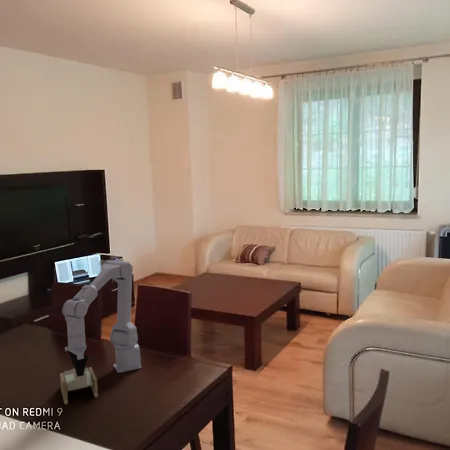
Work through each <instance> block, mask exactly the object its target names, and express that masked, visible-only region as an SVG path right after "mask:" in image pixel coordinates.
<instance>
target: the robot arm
mask: <svg viewBox="0 0 450 450" xmlns="http://www.w3.org/2000/svg"><path fill="white" fill-rule="evenodd" d="M112 279H113V280H114V281H115V282H116V283H117V305H116V307H117V308H116V323H114V324H113V325H112V326H111V333H110V336H109V340H110V343H111V344H113V347H114V349H115V363H114V364H113V367H114V368H115V371H116V372H117V373H119V374H120V373H124V372H128V371H134V370H138V369H142V364H141V363H142V362H141V361H142V360H141V349H140V345H139V343H138V340H139V337H138V336H139V335H138V332H137V327H136V325H135V324H133V322H131V321H132V292H133V291H132V288H133V287H132V286H133V284H132V283H133V265H132V264H131V263H130V262H129V261H122V260H121V261H119V260H111V259H107V260H105V262H104V263H103V264H102V265H101V270H100V272H99V273H98V274H97V275H96V277H95V278H93V281H91V283H90V284H85V285H83V286H82V287H81V289H80V291H78V292H77V293H76V294H75V296H73V298H72V299H67V300H66V301H65V302H64V303H63V306H62V309H61V313H62V314H63V316H64V320H65V322H66V328H67V330H66V332H67V346H65V347H64V350H65V352H67V353H68V354H69V356H70V360H71V362H72V365H73V368H75V370H76V374H77V377H79V376H84V371H85V368H86V364H87V362H88V360H89V355H88V354H87V355H84V353H85V351H86V350H87V343H86V331H85V330H86V329H85V316H86V314H87V313H88V310H89V307H90V305H91V304H92V302H94V300H95V299H96V298H97V297H98V291H99V290H101V288H102V287H103V286H104V285H105V284H107V283H108V282H109V281H110V280H112Z"/></svg>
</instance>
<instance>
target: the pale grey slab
mask: <svg viewBox="0 0 450 450" xmlns="http://www.w3.org/2000/svg"><path fill="white" fill-rule="evenodd" d="M85 369H86V372H87V385H83V386H78V387H75V385H74V381H73V371H69V370H68V371H69V372H64V371H63V373H64V379H65V382H66V385H67V392H70V391H74V390H79V389H83V388H89V387H90V386H93V382H92V379H91V375H90V372H89V367H85Z"/></svg>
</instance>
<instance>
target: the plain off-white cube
mask: <svg viewBox="0 0 450 450" xmlns="http://www.w3.org/2000/svg"><path fill="white" fill-rule="evenodd" d="M72 369H73V381H74V385H75V387H78V386H83V385H87V372H86V369H85V371H84V376H79V377H77V374H76V370H75V368H74V367H73V368H72Z"/></svg>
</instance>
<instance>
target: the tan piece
mask: <svg viewBox="0 0 450 450" xmlns="http://www.w3.org/2000/svg"><path fill="white" fill-rule="evenodd" d="M88 370H89V372H90V375H91V379H92V382H93V386H89V387H90V389H91V391H92V393H93V396H94V398H98V397H99V393H98V389H99V388H98V378H97V376H96V374H95V373H94V370H93V368H92V366H90V367H88ZM63 373H64V372H61V373H59V379H60V380H59V381H60V382H59V383H60V392H61V396H62V399H63V403H64V405H68V404H69V401H68V391H67V385H66V382H65V379H64V375H63Z"/></svg>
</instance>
